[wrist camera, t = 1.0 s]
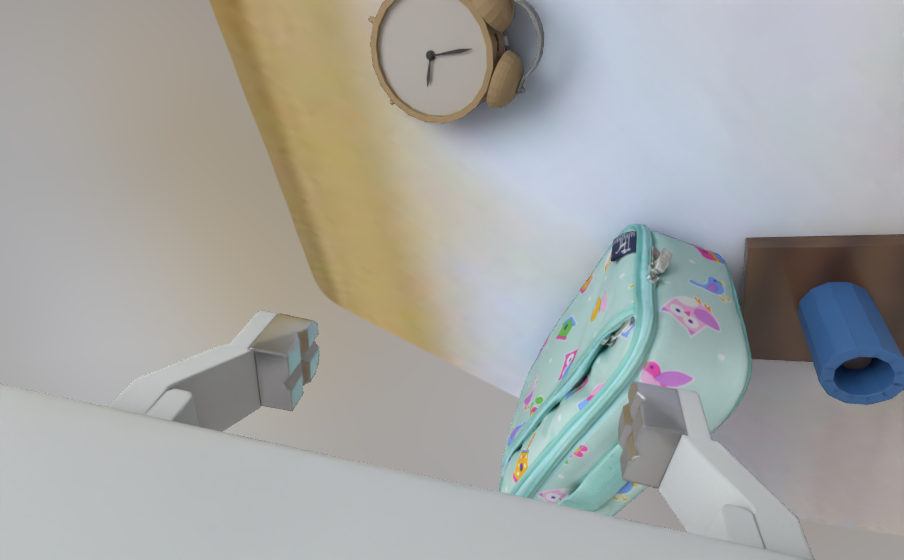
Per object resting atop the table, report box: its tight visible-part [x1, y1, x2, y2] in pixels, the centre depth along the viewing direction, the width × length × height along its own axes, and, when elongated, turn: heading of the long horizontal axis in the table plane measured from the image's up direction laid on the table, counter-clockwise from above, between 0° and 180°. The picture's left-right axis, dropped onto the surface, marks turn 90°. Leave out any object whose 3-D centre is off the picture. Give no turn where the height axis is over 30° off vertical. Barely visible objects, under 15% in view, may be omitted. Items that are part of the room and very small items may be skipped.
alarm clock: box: [369, 0, 544, 123], centre depth 46 cm, size 11×5×15 cm
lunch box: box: [499, 224, 752, 516], centre depth 49 cm, size 27×10×21 cm, turn 160°
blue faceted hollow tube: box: [798, 282, 904, 405], centre depth 44 cm, size 5×5×9 cm
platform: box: [740, 234, 904, 370], centre depth 46 cm, size 14×12×9 cm
